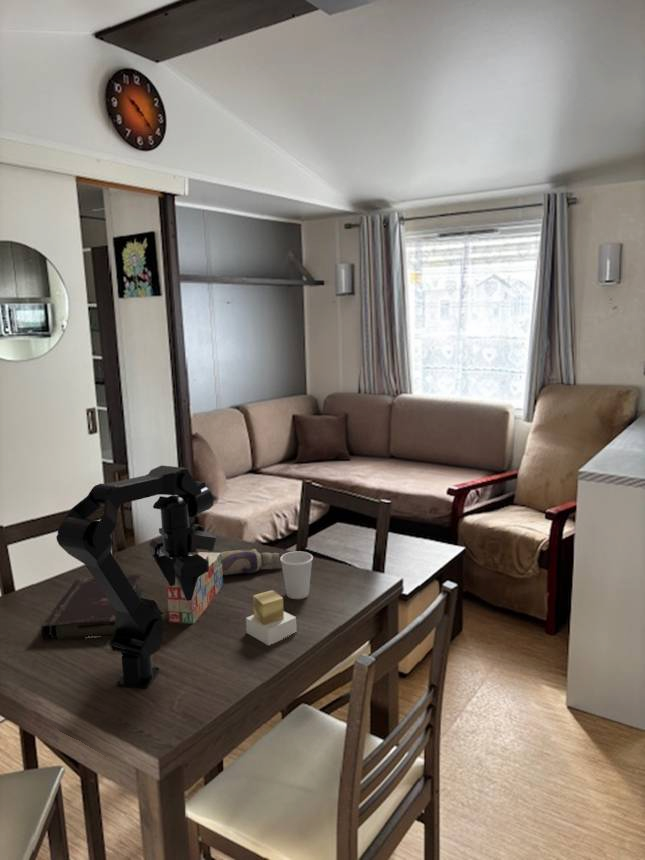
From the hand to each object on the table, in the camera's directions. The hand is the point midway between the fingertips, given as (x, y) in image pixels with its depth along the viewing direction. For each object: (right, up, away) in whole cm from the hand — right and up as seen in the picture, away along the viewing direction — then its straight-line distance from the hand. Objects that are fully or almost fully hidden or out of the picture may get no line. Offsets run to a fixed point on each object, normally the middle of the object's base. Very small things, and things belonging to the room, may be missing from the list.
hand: (180, 592), depth 138 cm
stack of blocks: (-1, -8, +22) cm, 23 cm away
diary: (-24, -10, +18) cm, 31 cm away
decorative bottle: (+7, -5, +39) cm, 40 cm away
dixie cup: (+24, -7, +25) cm, 36 cm away
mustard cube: (+19, -7, +5) cm, 21 cm away
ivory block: (+19, -11, +6) cm, 23 cm away
